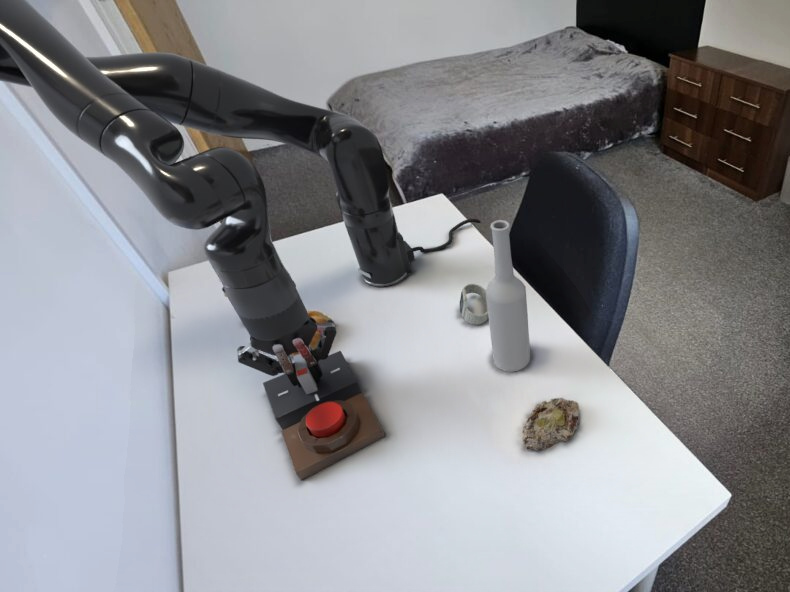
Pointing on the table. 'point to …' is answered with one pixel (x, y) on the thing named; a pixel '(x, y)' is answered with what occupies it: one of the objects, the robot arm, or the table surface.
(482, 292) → the wristwatch
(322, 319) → the pastry
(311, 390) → the grey block red tab
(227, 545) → the table surface
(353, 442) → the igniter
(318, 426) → the button
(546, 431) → the mineral rock
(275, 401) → the panel
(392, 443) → the table surface
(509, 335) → the bottle
